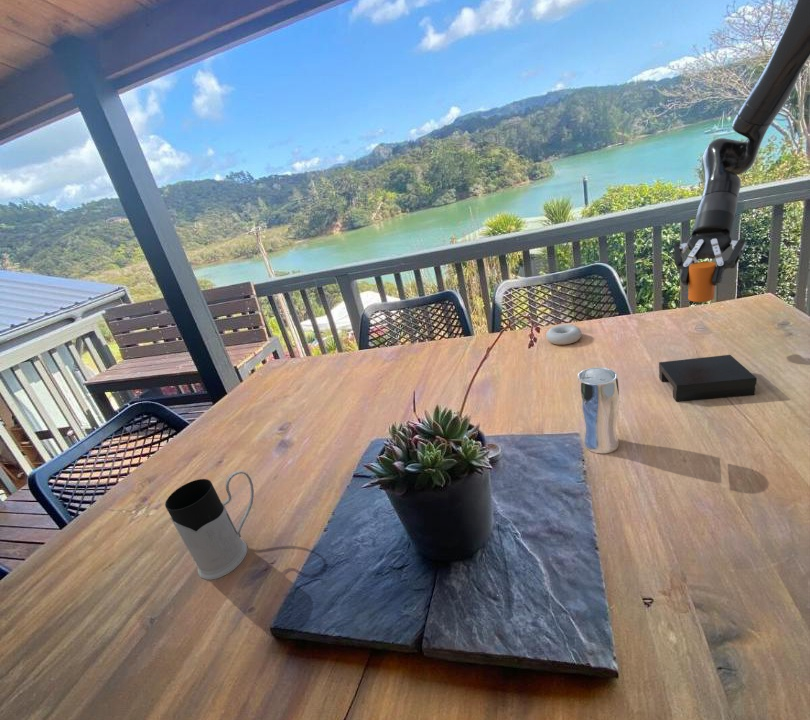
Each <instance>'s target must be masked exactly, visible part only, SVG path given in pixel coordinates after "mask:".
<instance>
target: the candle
mask: <svg viewBox="0 0 810 720" xmlns="http://www.w3.org/2000/svg"><path fill="white" fill-rule="evenodd" d="M715 267H717V262H713V261H698V262H697V263H693V264H691V265H689V282H688V285H687V287H688V289H687V291H688V292H687V299H688V301H690V302H693V303H705V302H709V301H712V300H714V299H715V291H716V290H715V289H716V288H715V287H716V286H713V284H712V279H713V275H714V270H715Z"/></svg>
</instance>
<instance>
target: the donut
mask: <svg viewBox="0 0 810 720" xmlns="http://www.w3.org/2000/svg"><path fill="white" fill-rule="evenodd" d="M581 337H582V329H580V327H578V326H576V325H573V324H559V325H556V326H552V327H550V328H549V329H548V330H547V331H546V333H545V338H546V340H547V341H548V343H550V344H553V345H558V346H562V345H563V346H564V345H571V344H573V343H576V342H578V341H579V340H580V339H581Z"/></svg>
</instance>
